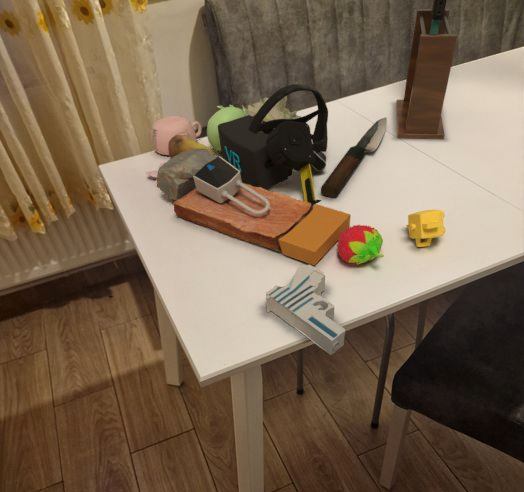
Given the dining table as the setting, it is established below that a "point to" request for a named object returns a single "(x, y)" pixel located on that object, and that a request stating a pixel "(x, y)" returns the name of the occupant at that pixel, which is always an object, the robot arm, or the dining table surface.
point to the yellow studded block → (426, 226)
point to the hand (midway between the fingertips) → (436, 17)
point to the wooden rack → (426, 79)
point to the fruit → (184, 145)
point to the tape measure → (294, 153)
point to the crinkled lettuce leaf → (273, 110)
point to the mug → (172, 131)
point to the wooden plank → (269, 221)
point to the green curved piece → (222, 117)
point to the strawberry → (359, 244)
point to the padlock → (224, 183)
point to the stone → (182, 172)
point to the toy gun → (307, 308)
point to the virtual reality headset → (254, 143)
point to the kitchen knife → (354, 159)
